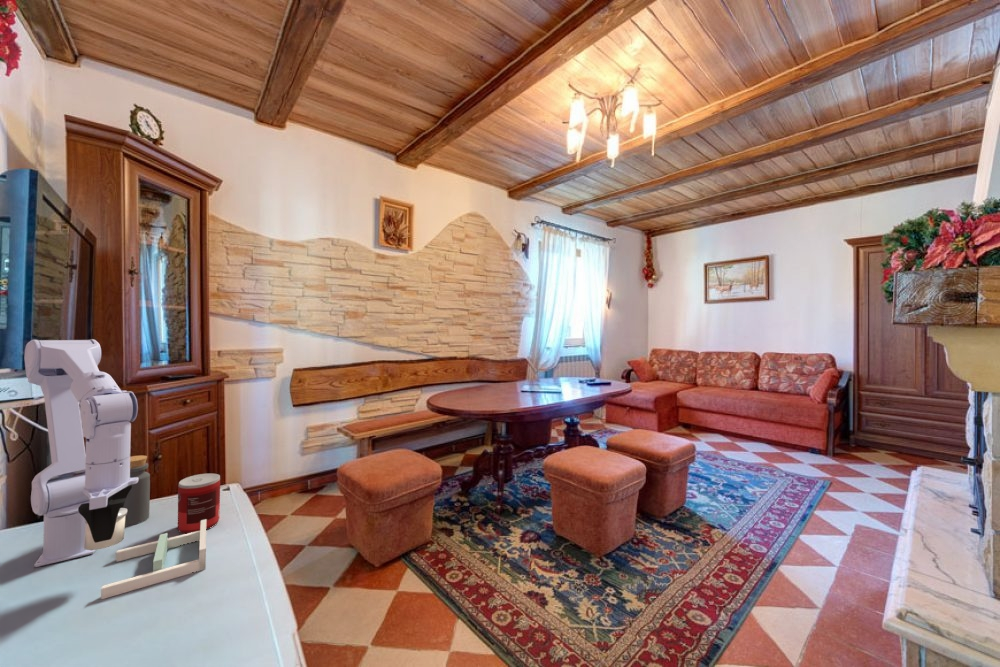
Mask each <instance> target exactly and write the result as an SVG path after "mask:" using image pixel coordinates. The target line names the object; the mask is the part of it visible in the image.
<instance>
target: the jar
mask: <svg viewBox="0 0 1000 667" xmlns="http://www.w3.org/2000/svg"><path fill="white" fill-rule="evenodd" d="M126 514H127V509H126V508H120V510H119V513H118V516H117V520H116V525H115V529H114V533H113V536H112V538H111V539H110V540H106V541H101V542H97V543H95V542H94V540H93V538H92V534H91V531H90V528H89V525H88V523H87V521H86V520H85V523H86V532H85V544H84V549H86V550H97V551H98V550H102V549H105V548H110V547H112V546H115V545H117V544H120V543H122V542H123V540H124V539H125V529H126V528H125V527H126V526H125V516H126Z"/></svg>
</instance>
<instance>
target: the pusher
mask: <svg viewBox="0 0 1000 667" xmlns="http://www.w3.org/2000/svg"><path fill="white" fill-rule="evenodd" d="M167 538H169V537H168V532H166V533H161V534H159V537H158V539H157V541H158V544H157V549H156V552H154V557H153V563H152V564H153V566H152V572H154V571H158V570H161V569H165V560H166V556H167V553H168V552H167V551H168V549H167Z"/></svg>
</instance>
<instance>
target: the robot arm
mask: <svg viewBox="0 0 1000 667" xmlns="http://www.w3.org/2000/svg"><path fill="white" fill-rule="evenodd" d="M23 358H24V368H25V369H24V370H25V376H26V378H27V381H28V383H29V384H32V385H36V386H39V387H40V389H41V391H42V395H43V398H44V406H45V415H46V424H47V432H48V433H47V434H48V442H49V451H50V461H51V464H50V465H48V466H47V467H45V468H44V469H43V470H41V471H40V472H39V473H37V474H36V475H35V476H34V478H33V479H32V481H31V495H30V504H31V508H32V512H33V513H34V514H35V515H37V516H40V517H41V516H43V535H42V536H43V537H42V538H43V540H42V541H43V543H42V544H43V546H42V548H43V549H42V554H41V555H40V556H39V558H38V559H37V560H36V562H35V563H34V564H33V567H34V568H38V567H42V566H46V565H50V564H54V563H59V562H63V561H67V560H72V559H76V558H80V557H84V556H89V555H93V554H94V553H95V552H96V550H86V549H84V544H85V532H86V523H85V520H86V521H87V523H88V525H89V528H90V531H91V534H92V538H93V540H94V542H95V543H97V542H101V541H106V540H110V539H111V538H112V536H113V533H114V529H115V525H116V520H117V516H118V513H119V510H120V508H123V507H124V504H125V500H126V498H127V495H128V493H129V491H130V490H131V488H132V487H133V484H136V483H138V481H139V478H138V477H134V478H130V457H131V444H132V443H131V433H132V432H131V431H132V430H131V429H132V423H131V422H135V420H136V419H137V416H138V411H139V406H138V399H137V397H136V395H135V394H134V391H131V390H130V391H127V390H122V389H121V388H120V386H118V384H117V383H116V381H115V380H114V378H113V377H112V376H111V375H110V374H109V373H107V372H105V371H101V370H99V367H98V366H99V364H100V362H101V359H102V348H101V345H100V343H99V342H98V341H97V340H96V339H95V338H94V339H93V338H92V339H67V340H66V339H63V340H62V339H60V340H59V339H57V340H56V339H48V340H45V339H43V340H42V339H41V340H39V339H31V340H30V341H28V342H27V343H26V344H25V348H24V357H23ZM84 438H85V440H84Z"/></svg>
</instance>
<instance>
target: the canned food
mask: <svg viewBox="0 0 1000 667" xmlns="http://www.w3.org/2000/svg"><path fill="white" fill-rule="evenodd" d="M177 487H178V488H177V529H178V531H180V533H181V532H182V533H181V534H185V533H191V532H196V531H200V525H201V520H205V519H206V529H208V528H210V527H212V526H213V525H215V524H216V523H217V522H218V523H219V520H220V514H221V513H220V508H221V507H220V506H221V504H220V503H221V475H220V474H219V473H218V474H217V473H200V474H194V475H191V476H187V477H185V478H183V479H181V480H180V481H179V482H178V485H177ZM218 523H217V524H218ZM217 524H216V525H217ZM216 525H215V526H216ZM213 527H214V526H213ZM213 527H212V528H213ZM210 529H211V528H210ZM208 530H209V529H208Z"/></svg>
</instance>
